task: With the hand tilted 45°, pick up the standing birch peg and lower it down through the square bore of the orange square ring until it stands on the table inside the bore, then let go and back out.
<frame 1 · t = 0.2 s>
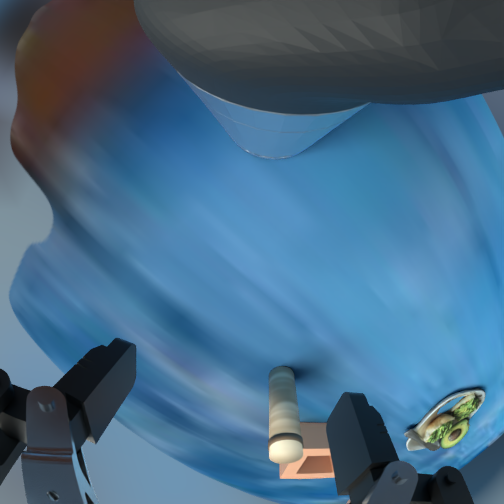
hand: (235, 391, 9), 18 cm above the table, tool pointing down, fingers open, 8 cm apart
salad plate: (445, 418, 34), on the table
birch peg: (281, 375, 30), on the table
orange square ring: (317, 441, 34), on the table
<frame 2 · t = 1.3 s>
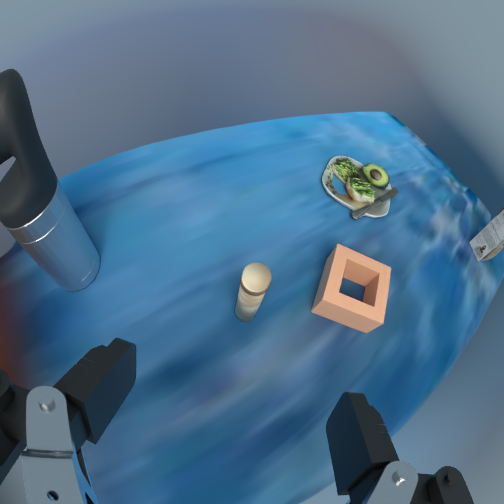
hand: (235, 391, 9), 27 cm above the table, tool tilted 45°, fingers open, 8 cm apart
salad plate: (358, 188, 56), on the table
birch peg: (245, 311, 38), on the table
orange square ring: (346, 295, 42), on the table
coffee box: (479, 251, 53), on the table
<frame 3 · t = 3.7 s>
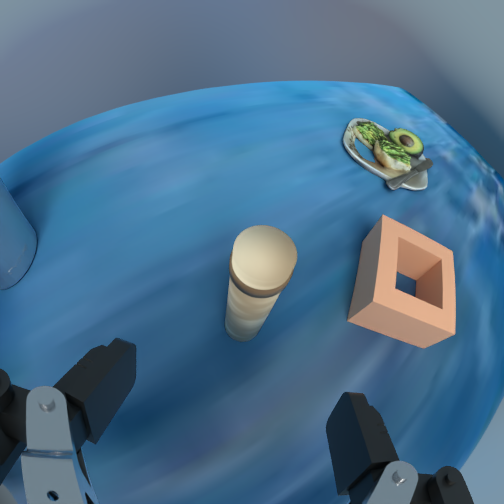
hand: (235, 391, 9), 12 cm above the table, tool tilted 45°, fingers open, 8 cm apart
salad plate: (386, 156, 41), on the table
birch peg: (242, 324, 23), on the table
orange square ring: (394, 293, 26), on the table
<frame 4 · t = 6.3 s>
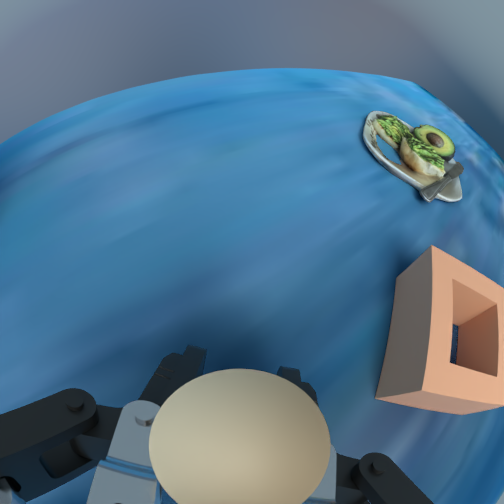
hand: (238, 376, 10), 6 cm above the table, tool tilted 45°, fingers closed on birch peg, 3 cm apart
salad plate: (413, 158, 32), on the table
birch peg: (224, 415, 14), on the table, touching gripper
orange square ring: (434, 349, 17), on the table
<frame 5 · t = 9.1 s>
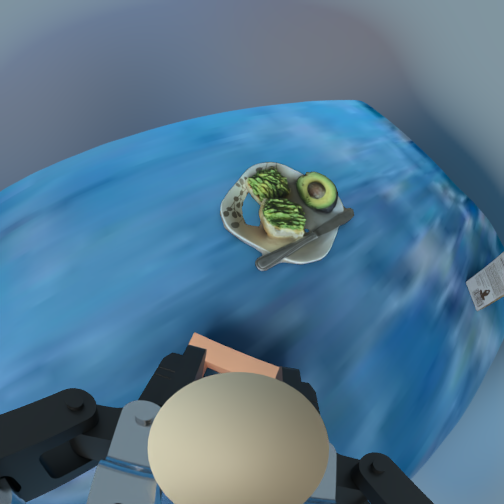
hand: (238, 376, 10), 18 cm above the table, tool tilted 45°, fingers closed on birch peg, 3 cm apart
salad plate: (286, 212, 40), on the table
birch peg: (223, 416, 13), point 13 cm above the table, touching gripper
orange square ring: (222, 403, 25), on the table
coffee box: (480, 292, 37), on the table
when the fingers open (8 cm above the table, at t = 11.8 s): birch peg drops 2 cm, resting in orange square ring.
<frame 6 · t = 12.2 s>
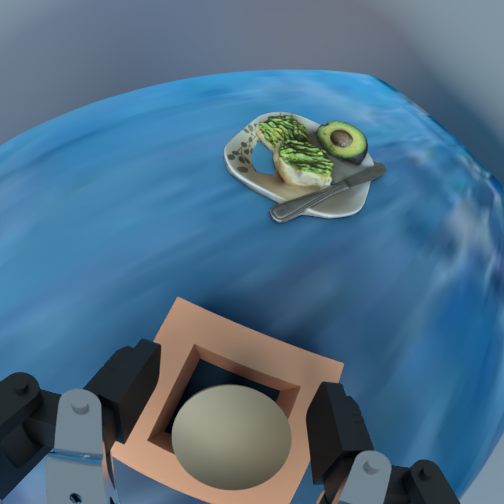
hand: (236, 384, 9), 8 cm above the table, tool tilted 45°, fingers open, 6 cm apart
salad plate: (306, 164, 31), on the table
birch peg: (222, 415, 16), resting in orange square ring
orange square ring: (223, 413, 16), on the table
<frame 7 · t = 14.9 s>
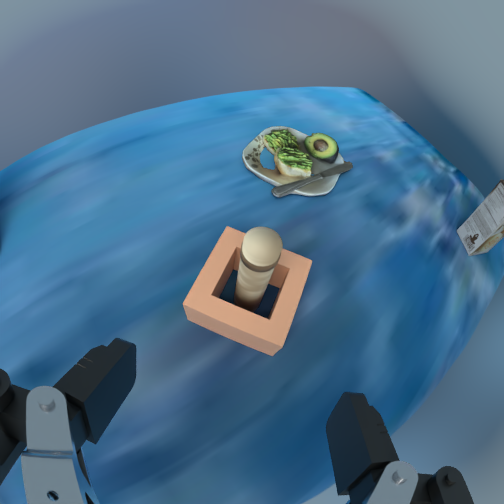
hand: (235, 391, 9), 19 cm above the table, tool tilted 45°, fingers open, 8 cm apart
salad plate: (296, 163, 46), on the table
birch peg: (246, 301, 31), resting in orange square ring
orange square ring: (246, 300, 31), on the table
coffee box: (471, 242, 42), on the table
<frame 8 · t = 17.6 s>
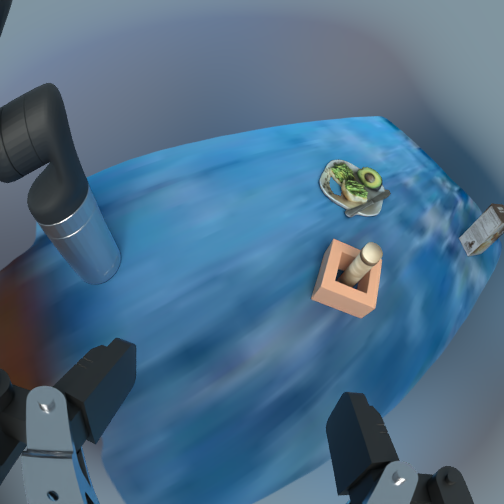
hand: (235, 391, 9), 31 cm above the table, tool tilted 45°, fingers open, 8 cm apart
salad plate: (353, 190, 62), on the table
birch peg: (342, 285, 47), resting in orange square ring
orange square ring: (342, 285, 47), on the table
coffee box: (469, 246, 59), on the table
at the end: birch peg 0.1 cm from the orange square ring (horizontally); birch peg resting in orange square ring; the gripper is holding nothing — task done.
